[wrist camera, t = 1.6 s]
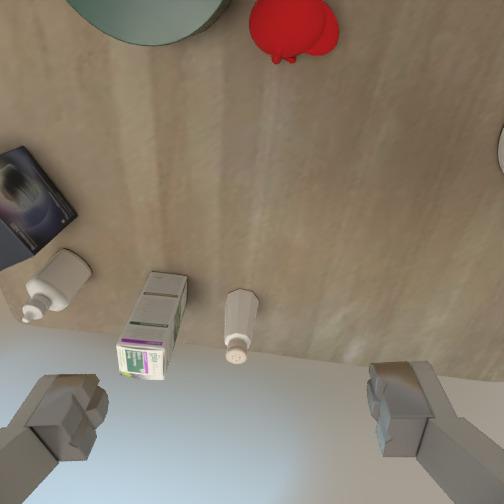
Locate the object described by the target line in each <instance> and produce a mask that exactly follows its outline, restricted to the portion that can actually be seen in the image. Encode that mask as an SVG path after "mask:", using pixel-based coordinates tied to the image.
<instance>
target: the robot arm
mask: <svg viewBox="0 0 504 504" xmlns="http://www.w3.org/2000/svg"><path fill="white" fill-rule="evenodd" d="M498 159H499V164H500V167H501V170H502V171H503V173H504V127H503V130H502V133H501V136H500V140H499V146H498ZM369 374H370V377H371V379H370V380H369V381H368V383H367V398H368V404H369V408H370V412H371V416H372V417H373V418H374V419H375V420H376V421H377V427H376V434H377V438H378V441H379V445H380V448H381V452H382V455H383V457H417V458H416V459H417V461H418V462H419V463H420V464H421V465H422V466H423V468H424V469H425V470H426V471H427V472H428V473H429V475H430V476H431V477H432V478H433V479H434V480H435V481H436V483H437V484H438V485H439V486H440V487H441V488H442V489H443V491H444V492H445V493H446V494H447V495H448V496H449V497H450V499H451V500H452V501H453V502H454V503H455V504H504V449H502V448H501V447H500V446H499V445H497V444H496V443H495V442H494V441H493V440H491V439H490V438H489V437H488V436H486V435H485V434H484V433H483V432H481V431H480V430H479V429H478V428H476V427H475V426H474V425H473V424H471V423H470V422H469V421H467V420H466V419H465V418H458V417H457V415H456V413H455V411H454V409H453V407H452V405H451V403H450V401H449V399H448V397H447V395H446V394H445V391H444V389H443V387H442V386H441V384H440V382H439V380H438V378H437V376H436V374H435V372H434V370H433V368H432V366H431V364H430V363H429V362H428V361H415V362H407V361H404V362H384V363H371V364H370V367H369ZM98 383H99V379H98V377H97V376H96V374H58V375H44V376H43V377H42V378H40V379H39V380H38V382H37V383H36V385H35V386H34V388H33V389H32V391H31V392H30V394H29V395H28V397H27V398H26V399H25V401H24V402H23V404H22V405H21V407H20V408H19V410H18V411H17V413H16V414H15V416H14V417H13V419H12V420H11V422H10V423H9V425H8V426H7V427H5V428H1V429H0V504H22V503H23V502H24V501H25V499H26V498H27V497H28V496H29V495H30V494H31V493H32V492H33V491H34V490H35V489H36V488H37V487H38V485H39V484H40V483H41V482H42V481H43V480H44V479H45V478H46V477H47V476H48V474H50V472H51V471H52V470H53V469H54V468H55V467H56V466H57V465H58V464H59V461H81V460H82V461H83V460H87V459H88V456H89V454H90V452H91V449H92V447H93V445H94V442H95V440H96V438H97V435H96V431H95V429H96V428H97V427H98V426H99V425H100V424H102V423H103V421H104V419H105V417H106V414H107V410H108V403H109V401H108V395H107V393H106V391H105V390H104V389H102V388H100V387H99V386H97V385H98Z"/></svg>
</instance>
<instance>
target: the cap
mask: <svg viewBox="0 0 504 504" xmlns="http://www.w3.org/2000/svg"><path fill="white" fill-rule="evenodd" d="M249 29H250V33H251V36H252V38H253V40H254V42H255V43H256V45H257V46H258V47H259V48H260V49H261V50H262V51H264V52H265V53H267V54H269V55H270V56H271V57H272V62H273V63H274V64H278V63H280V61H281V58H283V59H285V60H286V61H288V62H290V63H292V64H293V63H295V62H296V59H295V58H294V56H297V55H300V54H302V53H306V54H309V55H313V56H320V55H325V54H327V53H329V52H330V51H332V50H333V49H334V47H335V46H336V44H337V42H338V38H339V26H338V22H337V19H336V17H335V15H334V13H333V12H332V10H331V9H330V8H329V7H328V5H327V4H326V3H324V2H323V1H322V0H258V1H257V2H255V5H254V7H253V9H252V11H251V14H250V19H249Z"/></svg>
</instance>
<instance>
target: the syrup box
mask: <svg viewBox="0 0 504 504" xmlns="http://www.w3.org/2000/svg"><path fill="white" fill-rule="evenodd" d="M186 303H187V276H183V275H176V274H168V273H159V272H151V273H150V275H149V277H148V279H147V281H146V283H145V285H144V287H143V289H142V291H141V293H140V295H139V297H138V300H137V302H136V304H135V306H134V308H133V310H132V312H131V314H130V317H129V319H128V321H127V323H126V325H125V327H124V329H123V332H122V334H121V336H120V338H119V340H118V342H117V344H116V347H117V353H118V354H117V355H118V362H119V370H120V375H121V376H126V377H132V378H137V379H148V380H150V379H151V380H164V378H165V375H166V372H167V368H168V365H169V362H170V358H171V355H172V352H173V348H174V345H175V341H176V338H177V334H178V331H179V328H180V324H181V321H182V317H183V314H184V310H185V307H186Z"/></svg>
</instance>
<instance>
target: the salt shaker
mask: <svg viewBox="0 0 504 504" xmlns="http://www.w3.org/2000/svg"><path fill="white" fill-rule="evenodd" d="M258 304H259V300H258V299H257V298H256V296H255V295H254V293H253V292H251V291H247V290H243V289H238V290H235V291H233V292H231V293H228V295H227V298H226V302H225V331H224V341H225V344H226V345H227V352H226V358H227V360H228V361H229V362H231V363H234V364H241V363H243V362H244V361H246V359H247V349H248V348H249V346H250V344H251V340H252V336H253V331H254V325H255V320H256V315H257V309H258Z"/></svg>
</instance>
